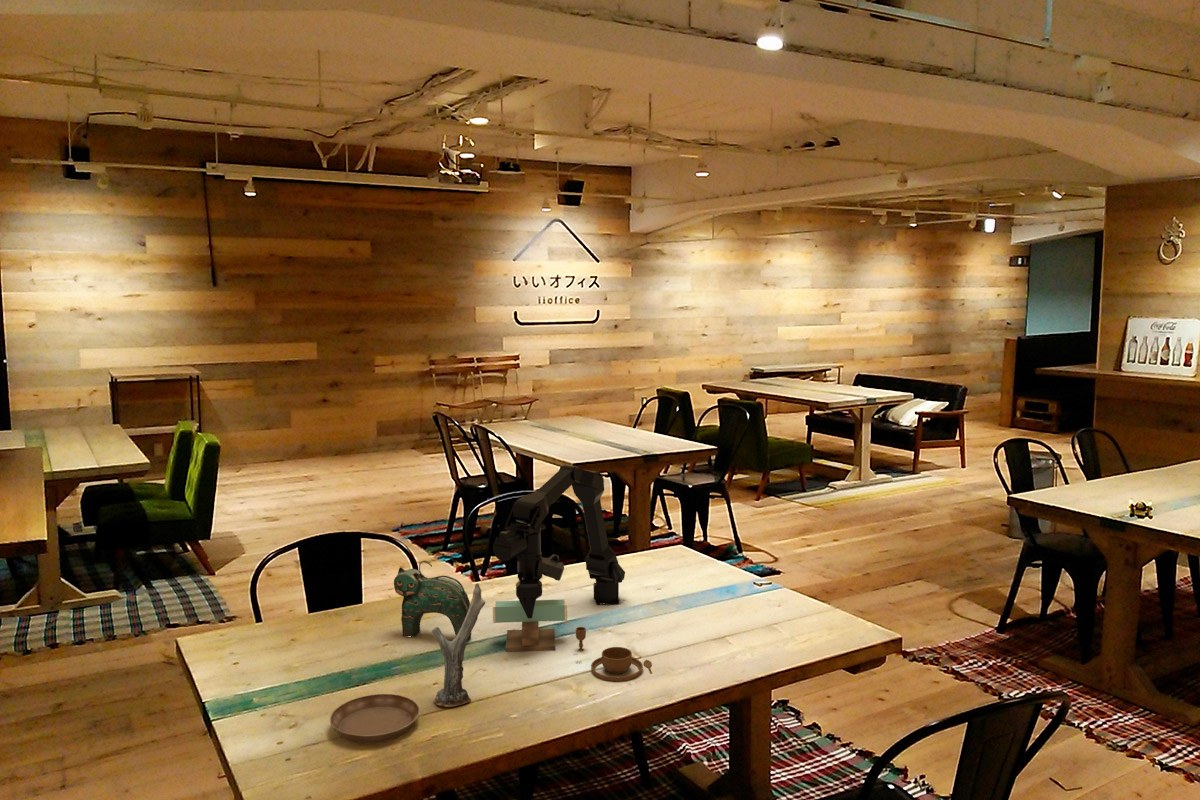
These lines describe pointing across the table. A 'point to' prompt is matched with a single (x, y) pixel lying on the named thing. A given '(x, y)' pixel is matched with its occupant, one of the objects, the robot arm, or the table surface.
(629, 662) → the place setting
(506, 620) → the bar
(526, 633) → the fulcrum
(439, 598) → the ceramic cat
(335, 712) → the plant saucer
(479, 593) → the bare tree trunk
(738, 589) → the table surface
